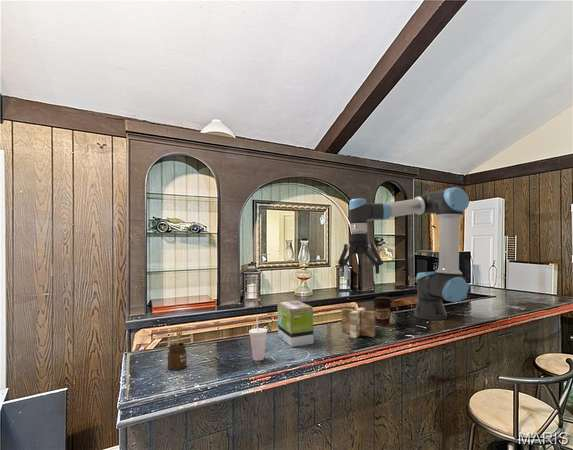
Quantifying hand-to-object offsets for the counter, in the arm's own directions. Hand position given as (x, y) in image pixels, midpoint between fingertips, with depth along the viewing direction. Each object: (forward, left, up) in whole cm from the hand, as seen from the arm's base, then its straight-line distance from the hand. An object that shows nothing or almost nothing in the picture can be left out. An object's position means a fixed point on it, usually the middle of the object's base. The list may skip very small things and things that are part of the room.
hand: (360, 280), depth 142 cm
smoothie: (+19, +50, -22) cm, 58 cm away
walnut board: (0, +5, -22) cm, 23 cm away
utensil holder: (+38, +69, -23) cm, 82 cm away
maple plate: (0, +5, -22) cm, 23 cm away
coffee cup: (-5, -14, -23) cm, 27 cm away
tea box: (+19, +26, -23) cm, 39 cm away
